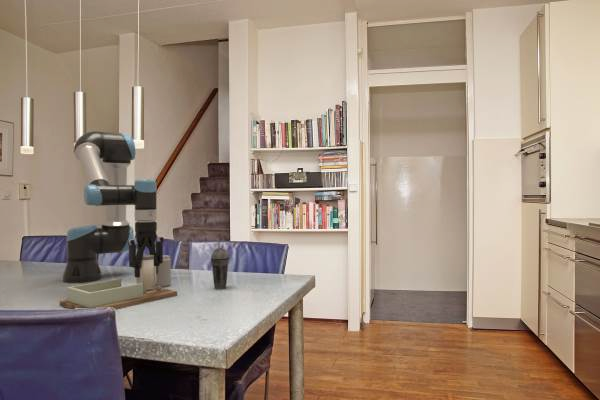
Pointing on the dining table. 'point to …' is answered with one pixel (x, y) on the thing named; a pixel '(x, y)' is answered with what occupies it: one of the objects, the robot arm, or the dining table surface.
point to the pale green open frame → (103, 293)
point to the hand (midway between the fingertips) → (146, 284)
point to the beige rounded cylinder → (148, 271)
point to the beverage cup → (220, 267)
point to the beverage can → (164, 272)
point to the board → (147, 297)
